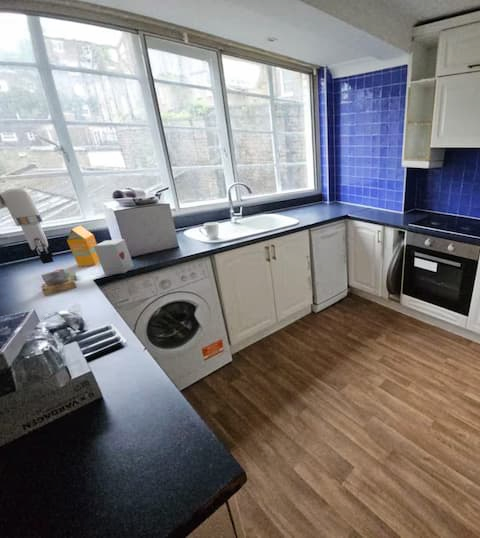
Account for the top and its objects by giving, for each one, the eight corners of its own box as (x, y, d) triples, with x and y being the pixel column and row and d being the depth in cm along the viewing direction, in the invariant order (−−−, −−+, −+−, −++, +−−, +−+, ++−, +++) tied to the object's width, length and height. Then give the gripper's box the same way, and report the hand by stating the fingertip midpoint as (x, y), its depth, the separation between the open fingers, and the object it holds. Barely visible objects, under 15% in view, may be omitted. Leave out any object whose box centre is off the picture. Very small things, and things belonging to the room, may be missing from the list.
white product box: (124, 273, 143) (113, 244, 137) (104, 275, 142) (92, 245, 136) (134, 266, 151) (124, 238, 145) (115, 268, 150) (104, 240, 144)
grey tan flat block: (46, 285, 125) (41, 274, 123) (46, 284, 126) (41, 273, 124) (68, 280, 130) (63, 269, 128) (68, 279, 131) (63, 268, 129)
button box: (48, 287, 131) (44, 279, 130) (47, 282, 136) (44, 274, 134) (77, 280, 138) (74, 272, 136) (76, 275, 142) (73, 268, 141)
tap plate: (43, 297, 122) (39, 290, 121) (43, 289, 129) (39, 283, 128) (78, 288, 129) (75, 281, 128) (76, 281, 136) (73, 274, 135)
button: (54, 276, 133) (52, 273, 132) (54, 274, 135) (52, 271, 135) (64, 274, 135) (63, 270, 135) (64, 272, 137) (62, 268, 137)
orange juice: (103, 259, 163) (89, 224, 155) (96, 265, 155) (80, 228, 147) (86, 261, 161) (71, 225, 153) (78, 267, 153) (61, 230, 145)
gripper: (16, 219, 120) (36, 257, 127) (13, 225, 109) (35, 267, 116) (41, 215, 125) (59, 252, 132) (41, 221, 114) (61, 262, 121)
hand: (48, 259), depth 124 cm, fingers open, 9 cm apart
